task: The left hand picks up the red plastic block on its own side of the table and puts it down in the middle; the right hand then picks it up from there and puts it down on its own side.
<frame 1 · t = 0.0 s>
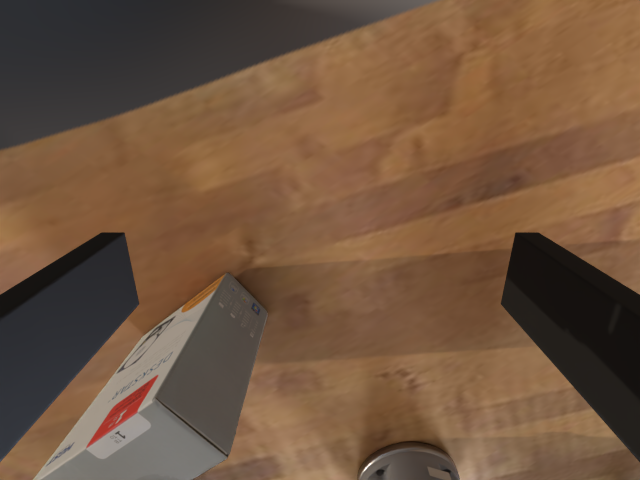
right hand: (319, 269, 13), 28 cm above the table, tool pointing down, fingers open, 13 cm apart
hard drive box: (204, 323, 46), on the table
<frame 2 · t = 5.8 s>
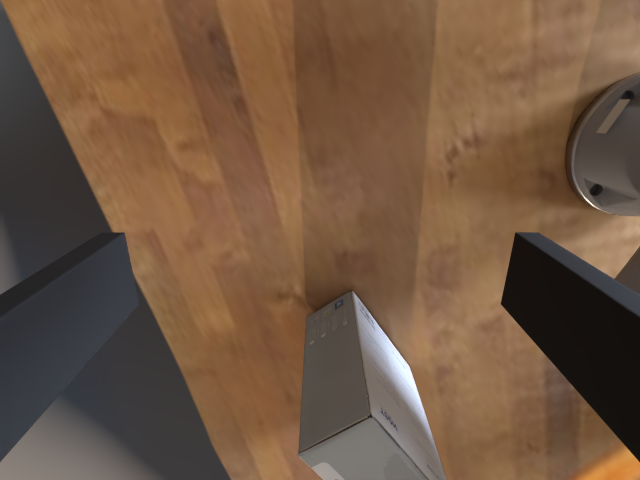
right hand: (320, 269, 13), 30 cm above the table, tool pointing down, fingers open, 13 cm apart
hard drive box: (359, 342, 50), on the table
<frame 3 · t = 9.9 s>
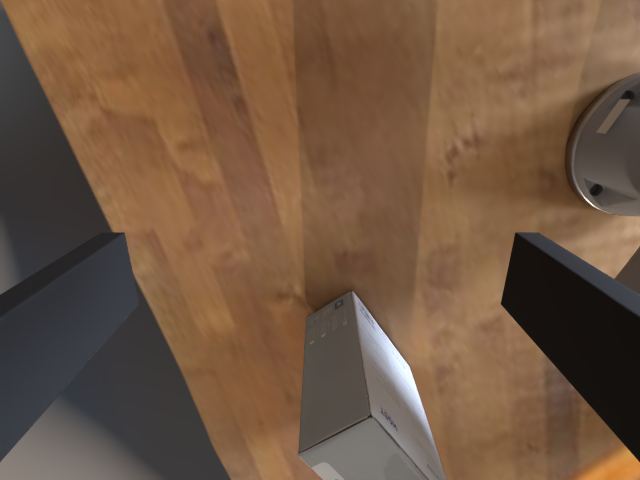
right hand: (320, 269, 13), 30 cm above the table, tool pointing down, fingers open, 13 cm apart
hard drive box: (359, 342, 50), on the table
when the left hand's fingers open (3 cm above the table, at t = 14.1 s): block drops 1 cm, on the table.
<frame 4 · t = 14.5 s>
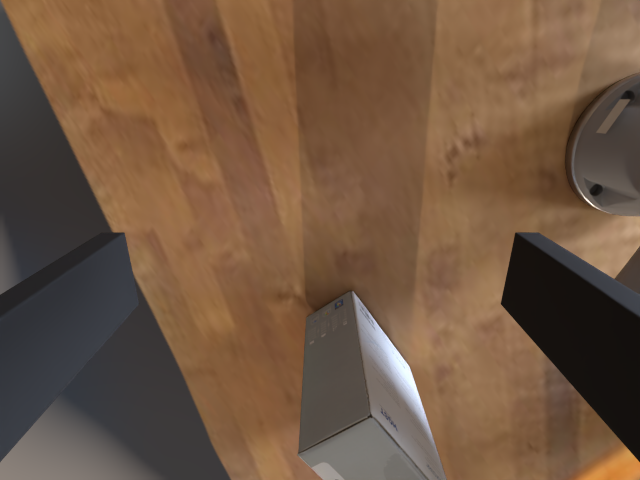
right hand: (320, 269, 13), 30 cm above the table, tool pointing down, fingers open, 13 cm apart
hard drive box: (359, 342, 50), on the table
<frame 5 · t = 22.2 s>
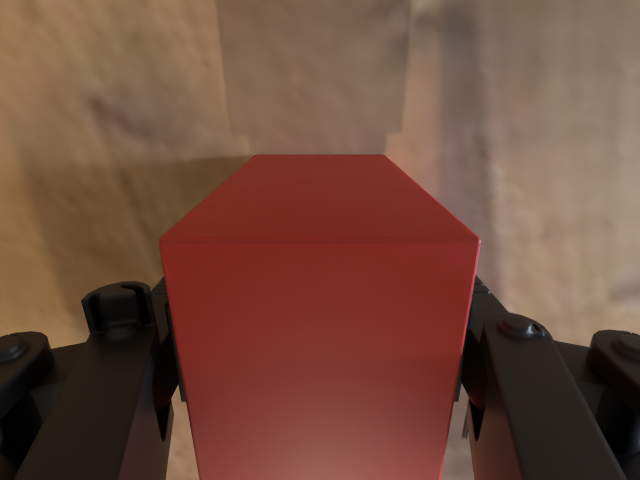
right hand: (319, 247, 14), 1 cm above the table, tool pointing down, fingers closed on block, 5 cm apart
block: (319, 234, 16), on the table, touching right hand
when the right hand's fingers open (3 cm above the table, at t = 30.7 s): block drops 1 cm, on the table.
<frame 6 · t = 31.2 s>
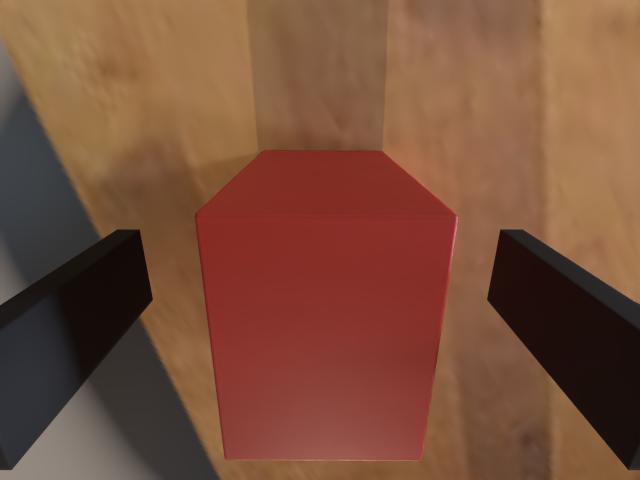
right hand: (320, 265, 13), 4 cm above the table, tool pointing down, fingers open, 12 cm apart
block: (322, 224, 17), on the table
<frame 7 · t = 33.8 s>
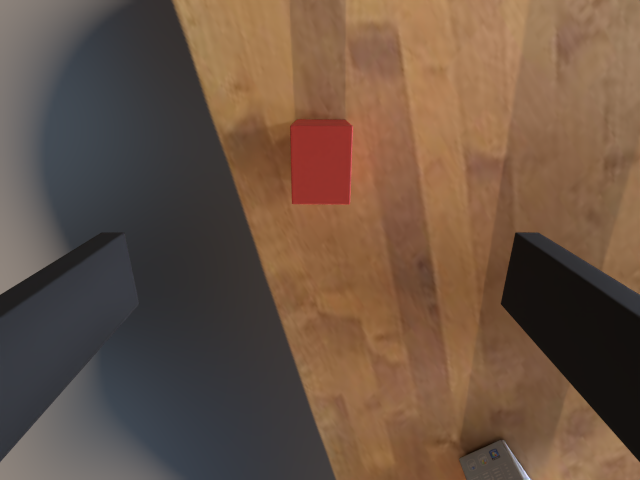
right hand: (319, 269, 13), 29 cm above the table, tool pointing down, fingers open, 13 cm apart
hard drive box: (499, 474, 58), on the table
block: (320, 151, 40), on the table
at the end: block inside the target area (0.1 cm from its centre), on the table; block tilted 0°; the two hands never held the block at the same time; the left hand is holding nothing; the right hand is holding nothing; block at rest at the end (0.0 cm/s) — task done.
